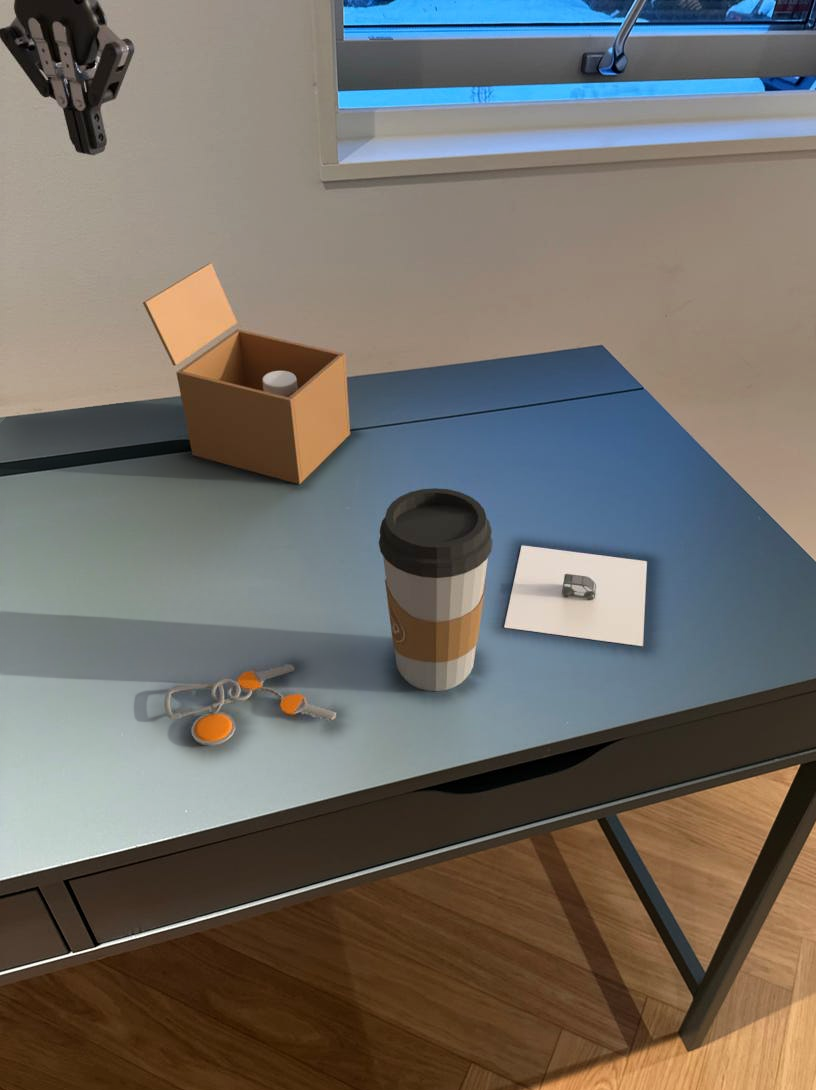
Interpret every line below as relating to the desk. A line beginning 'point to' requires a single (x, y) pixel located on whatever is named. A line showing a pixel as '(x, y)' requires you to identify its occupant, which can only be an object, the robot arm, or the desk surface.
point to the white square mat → (578, 595)
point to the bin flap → (190, 313)
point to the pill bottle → (280, 383)
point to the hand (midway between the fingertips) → (90, 151)
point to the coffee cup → (435, 583)
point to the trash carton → (265, 405)
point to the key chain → (222, 725)
